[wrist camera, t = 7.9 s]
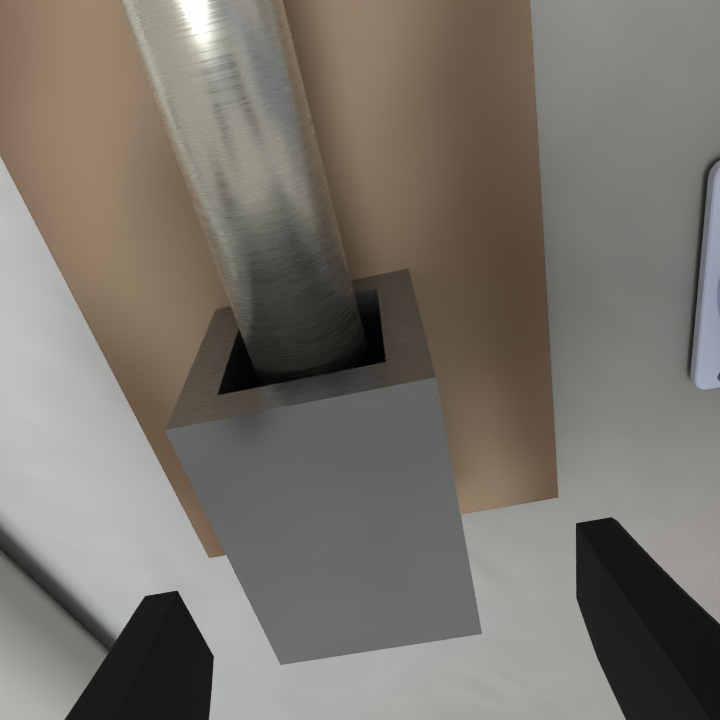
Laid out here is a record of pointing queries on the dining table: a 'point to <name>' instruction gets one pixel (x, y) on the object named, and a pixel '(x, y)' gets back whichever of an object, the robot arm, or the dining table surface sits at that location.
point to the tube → (40, 650)
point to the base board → (349, 198)
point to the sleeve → (333, 486)
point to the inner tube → (254, 177)
